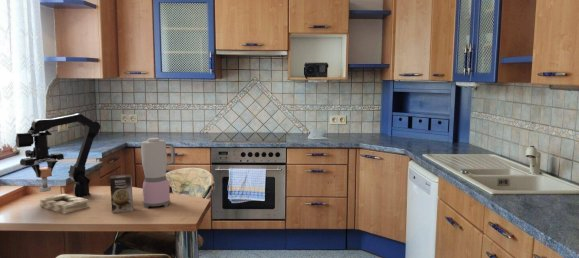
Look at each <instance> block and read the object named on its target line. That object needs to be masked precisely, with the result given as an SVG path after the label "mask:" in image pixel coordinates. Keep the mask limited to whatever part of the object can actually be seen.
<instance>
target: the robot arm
mask: <svg viewBox="0 0 579 258" xmlns="http://www.w3.org/2000/svg"><path fill="white" fill-rule="evenodd" d="M73 123H79V124H80V125H81V126H83V127H84V128H83V133H84V136H83V137H84V138H83V141H82V144H81V147H80V149H79V152H78V154H77V159H76V162H75V164H74V165H70V167H69V170H68V172H67V174H68V177H69V179H70V180H71V181H73V182H74V185H73V194H74V196H76V197H85V196H89V195H91V193H90V182H91V179H90V178H88V177H87V176H86V163H87V161H88V157H89V154H90V152H91V149H92V145H93V142H94V139H95V138H96V137H97V135H99V132H100V130H101V128H102V127H101V124H100V123H99V122H98V121H96V120H92V119H91V118H89V117H87V116H85V115H83V114H82V113H74V114H70V115H69V114H68V115H65V116H60V117H55V118H36V119H33V121H32V122H31V127H29V129H28V130H27V132H22V133H21V132H17V133H16V136H15V140H14V141H15V146H16V148H17V149H18V148H26V147H27V148H29V147H32V145H34V146H33V148H32V150H31V149H28V150H25V152H24V153H25V158H21V159H20V160H19V165H20V166H24V167H31V168H32V170H33V171H34V173H35V176H36V175H37V177H36V178H39V177H40V168H41V167H40V164H39V162H46V164H47V167H48V168H51V171H52V172H53V170H54V168H55V167H56V164H57V163H58V162H59V161H62V160H64V159H65V156H64V154H63V153H61V152H53V153H50V154H49V152H50V151H49V150H50V146H49V143H48V140H49V139H48V136H52V132H50V131H49V130H51V129H52V128H54V127H55V128H56V127H58V126H63V125H68V124H73Z"/></svg>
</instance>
